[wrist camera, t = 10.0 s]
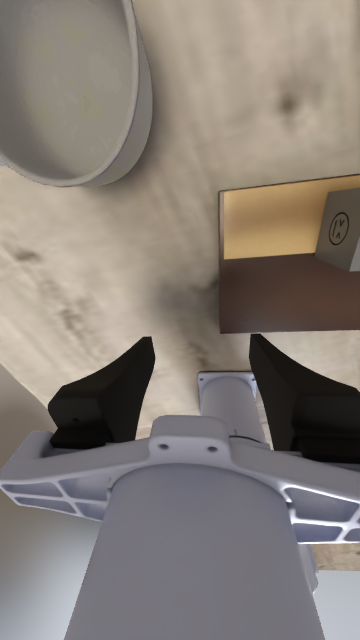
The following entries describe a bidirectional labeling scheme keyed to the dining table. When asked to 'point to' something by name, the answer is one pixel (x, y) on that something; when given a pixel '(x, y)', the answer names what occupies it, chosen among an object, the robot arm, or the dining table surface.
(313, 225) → the walnut board
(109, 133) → the teacup
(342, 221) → the dice cube
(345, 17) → the dining table surface
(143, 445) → the robot arm
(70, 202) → the dining table surface
